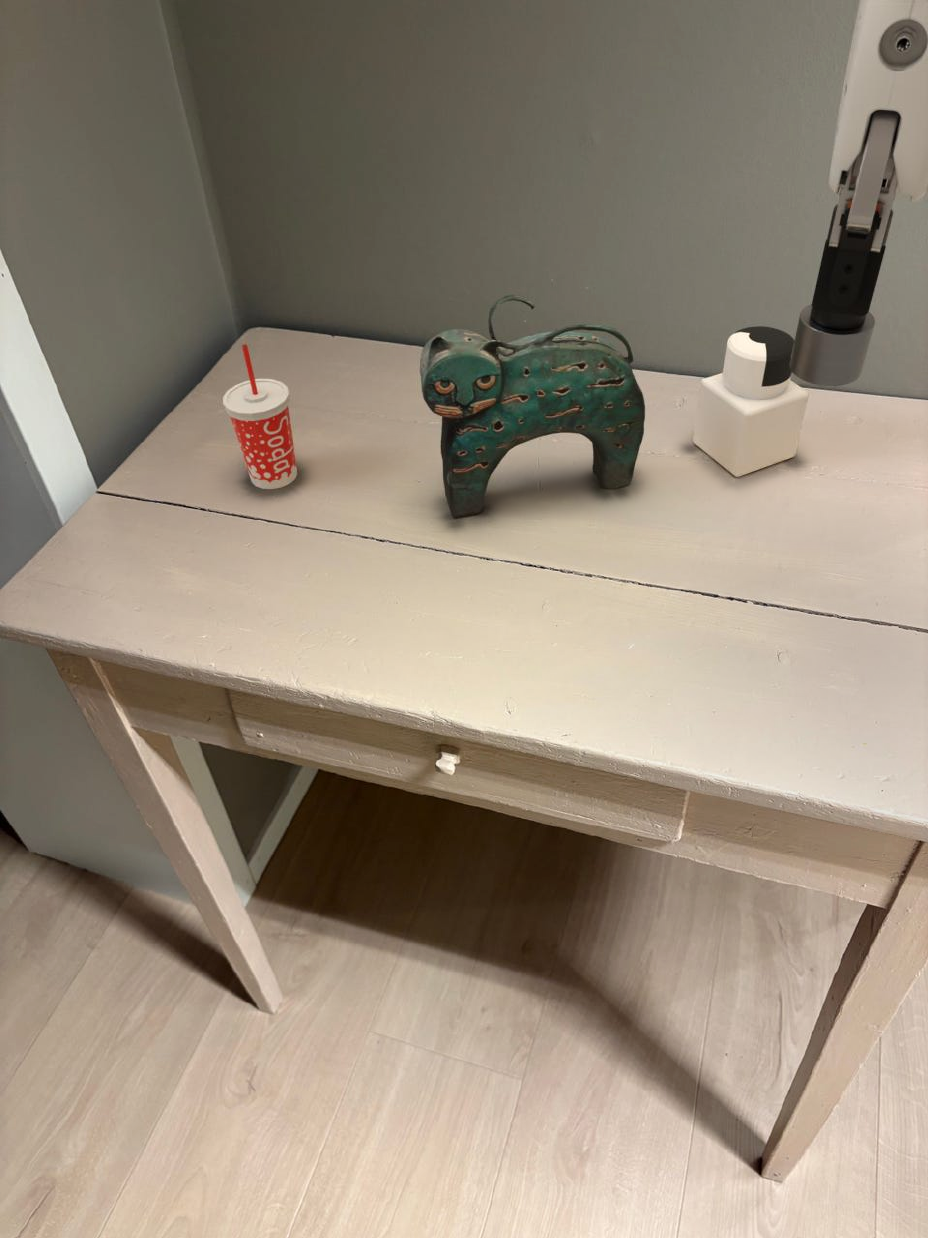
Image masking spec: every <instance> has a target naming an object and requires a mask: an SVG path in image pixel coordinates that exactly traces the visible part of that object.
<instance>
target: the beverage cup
mask: <svg viewBox="0 0 928 1238" xmlns="http://www.w3.org/2000/svg"><path fill="white" fill-rule="evenodd" d="M241 348H242V353H243V357H244V361H245V366H246V369H247V374H248V380H245V381H242V382H240V383H237V384H235V385H233V386H232V387H231V388H229V389H228V390H227V391H226V392H225V393H224V395H223V397H222V404H223V407H224V408H225V413H227V414H228V416H229V418H230V420H231V424H232V427H233V430H234V432H235V436H236V439H237V442H238V445H239V447H240V451H241V454H242V458H243V459H244V463H245V466H246V469H247V472H248V476H249V479H250V482H251V483H252V484H253V485H254V486H255V487H257V488H259V489H262V490H277V489H281V488H284V487H287V486H288V485H290V484H292V483H293V482H294V481H295V480H296V478H297V476H298V469H297V461H296V453H295V445H294V439H293V432H292V431H293V430H292V423H291V417H290V409H289V404H290V402H291V398H290V392H289V387H288V386H287V385H286V384H285V383H284V382H282V381H279V380H277V379H273V378H255V373H254V370H253V365H252V361H251V357H250V351H249V348H248V344H241Z"/></svg>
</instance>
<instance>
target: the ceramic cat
mask: <svg viewBox="0 0 928 1238" xmlns="http://www.w3.org/2000/svg"><path fill="white" fill-rule="evenodd" d="M510 301H511V302H512V301H514V302H515V301H516V302H521V303H523V304H525V305H527V306H528V307H530V309H531V310H534V308H536V305H534V304H533V302H532V301H530V300H529V299H528V298H527V297H526V296H523V295H520V294H509V295H503V296H502V297H501V298H499V299H497V300H496V301H495V302H494V303H493V304H492V305H491V307H490V309H489V313H488V333H489V336H490V338H491V340H490V339H487V338H486V337H484V336H483V335H481V334H479V333H477V332H475V331H472V330H470V329H461V328H451V329H448V330H444V331H442V332H440V333H438V334H436V335H435V336H434V337H432V338H430V339H429V340H428V341H427V342H426V343H425V345H424V346H423V348H422V350H421V353H420V360H419V361H420V362H419V374H420V385H421V394H422V398H423V400H424V402H425V404H426V405H427V407H428V408H429V410H430V411H431V412H432V413H433V414H435V415H437V416H439V417H441V430H440V431H441V432H440V444H439V445H440V446H439V447H440V455H441V460H442V480H443V488H444V495H445V498H446V501H447V505H448V508H449V511H450V514H451V517H452V519H457V518H458V519H459V518H464V517H469V516H475V515H479V514H481V513H482V512H483V511H484V506H485V497H486V491H487V487H488V486H489V482H490V479H491V478H492V475H493V473H494V472H495V470H496V469H497V467H498V466H499V465H500V463H501V461H502V460H503V459H504V458H505V456H506V455H507V454H508V453H509V451H511V450H513V449H514V448H515V447H517V446H519V445H522V444H524V443H528V442H530V441H533V440H535V439H538V438H542V437H545V436H550V435H554V434H578V435H581V436H583V437H585V438H586V439H587V440H588V441H590V442H591V445H592V466H591V467H592V468H591V470H592V474H593V476H594V477H595V479H596V481H597V483H598V485H599V486H600V487H602V488H604V489H606V490H607V489H609V490H613V489H614V490H615V489H618V488H621V487H625V486H628V485H630V484H631V483H632V482H633V476H634V473H635V469H636V468H635V467H636V463H637V459H638V456H639V451H640V449H641V444H642V442H643V438H644V434H645V420H646V403H645V397H644V393H643V391H642V389H641V387H640V386H639V384H638V381H637V379H636V376H635V374H634V372H633V371H634V370H633V368H632V366H631V364H632V363H633V362H634V356H633V351H632V348H631V345H630V343H629V341H628V339H626V337H625V336H624V335H623V334H622V333H621V332H620V331H619V330H617V329H615V328H614V327H612V326H611V327H610V326H607V325H602V324H593V323H592V324H591V323H589V324H588V323H587V324H573V325H568V326H565V327H561V328H560V329H556V330H554V331H548V332H542V333H536V334H532V335H531V334H530V335H528V336H524V337H522V338H519V339H516V340H513V341H510V342H507V343H505V342H503V341H501V340H497V338H496V336H495V332H494V329H493V324H492V317H493V313H494V312H495V311H496V310H497V308H498V307H499V306H500V305H502V304H503V303H507V302H510ZM579 331H580V332H579ZM581 331H589V332H603V333H607V334H610V335H612V336H614V337H615V338H616V339H618V340H619V341H620V342H622V344H623V345H624V346H625V348H626V351H627V356H624V355H623V354H622V353H621V352H620V351H619V349H617V348H616V347H615V346H614V345H613V344H611V342H609V341H607V340H605V339H603V338H602V337H599V336H597V335H595V334H592V333H588V332H581Z"/></svg>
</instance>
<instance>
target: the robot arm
mask: <svg viewBox="0 0 928 1238" xmlns="http://www.w3.org/2000/svg"><path fill="white" fill-rule="evenodd" d="M833 141H834V142H833V148H832V155H831V164H830V169H829V178H828V187H829V188H830V189H831V191H832V192H833V193H834V194H836V195H838V196H839V197H838V203H837V204H838V206H837V211H836V215H835V219H834V224H833V228H832V233H831V237H830V240H828V239H827V238H826V239H825V242H824V246H823V251H822V255H821V260H820V264H819V269H818V272H817V273H818V274H817V278H816V283H815V287H814V291H813V296H812V301H811V304H812V307H813V309H815V310H817V311H824V312H832V313H839V314H847V315H855V316H865V315H866V314H867V313H868V312H870V308H871V304H872V300H873V298H874V294H875V289H876V286H877V282H878V278H879V275H880V271H881V267H882V264H883V259H884V255H885V252H886V247H887V246H886V244H887V242H886V243H885V246H882V242H883V238H884V234H885V231H886V227H887V223H888V219H889V215H890V211H891V209H893V208H892V207H893V202H895V200H896V195H897V188H898V194H899V196H901V197H910V200H909V201H910V202H911V203H915V202H917V201H919V200H920V199H922V198H923V197H924V196H925V195H926V193H927V189H928V0H859V3H858V8H857V13H856V18H855V23H854V28H853V33H852V38H851V44H850V49H849V53H848V59H847V64H846V70H845V74H844V80H843V84H842V90H841V97H840V102H839V109H838V115H837V121H836V128H835V134H834V140H833ZM849 201H852V204H851V208H848V204H849ZM877 204H882V206H881V210H880V214H879V211H875V209H876V205H877ZM890 228H891V227H890ZM890 228H889V230H891V229H890ZM874 233H875V234H874ZM889 233H890V231H889V232H888V234H889ZM873 234H874V237H873ZM871 243H872V244H871Z"/></svg>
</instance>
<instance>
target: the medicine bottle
mask: <svg viewBox="0 0 928 1238" xmlns="http://www.w3.org/2000/svg"><path fill="white" fill-rule="evenodd" d="M794 340H795V338H794V337H793V336H791V334H789V333H788V332H786V331H784V330H781V329H778V328H776V327H770V326H763V325H759V326H757V325H756V326H749V327H744V328H740V329H738V330H736V331H735V332H734V333H732V334H731V335H730V336H729V337H728V338H727V343H726V350H725V356H724V361H723V362H724V363H723V369H722V372H720V373H717V374H715V375H711V376H708V377H705V378H703V379H701V381H700V385H699V393H698V399H697V407H696V415H695V423H694V430H693V437H692V442H693V443H694V444H695V445H696V446H697V447H698V448H700V450H702V451H703V452H705V453H706V454H707V455H708V456H709V457H711V458H712V459H713V460H714V461H715V462H717V463H718V464H719V465H721V466H722V467H723V468H724V469H725V470H727V471H728V472H729V473H730V474H732V475H733V477H735V478H740V477H743V476H744V475H745V476H746V475H748V474H751V473H753V472H755V471H759V470H761V469H764V468H766V467H770V466H772V465H775V464H777V463H781V462H784V461H786V460H788V459H791V458H794V457H796V454H797V451H798V450H797V449H798V445H799V440H800V436H801V431H802V428H803V423H804V419H805V414H806V409H807V405H808V400H809V397H810V393H809V392H808V391H807V390H806V389H804V388H803V387H802V386H801V385H798V384H797V383H796V382H794V381H792V380H791V378H792V374H793V373H792V371H791V369H790V365H789V364H790V359H791V355H792V350H793V345H794Z"/></svg>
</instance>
